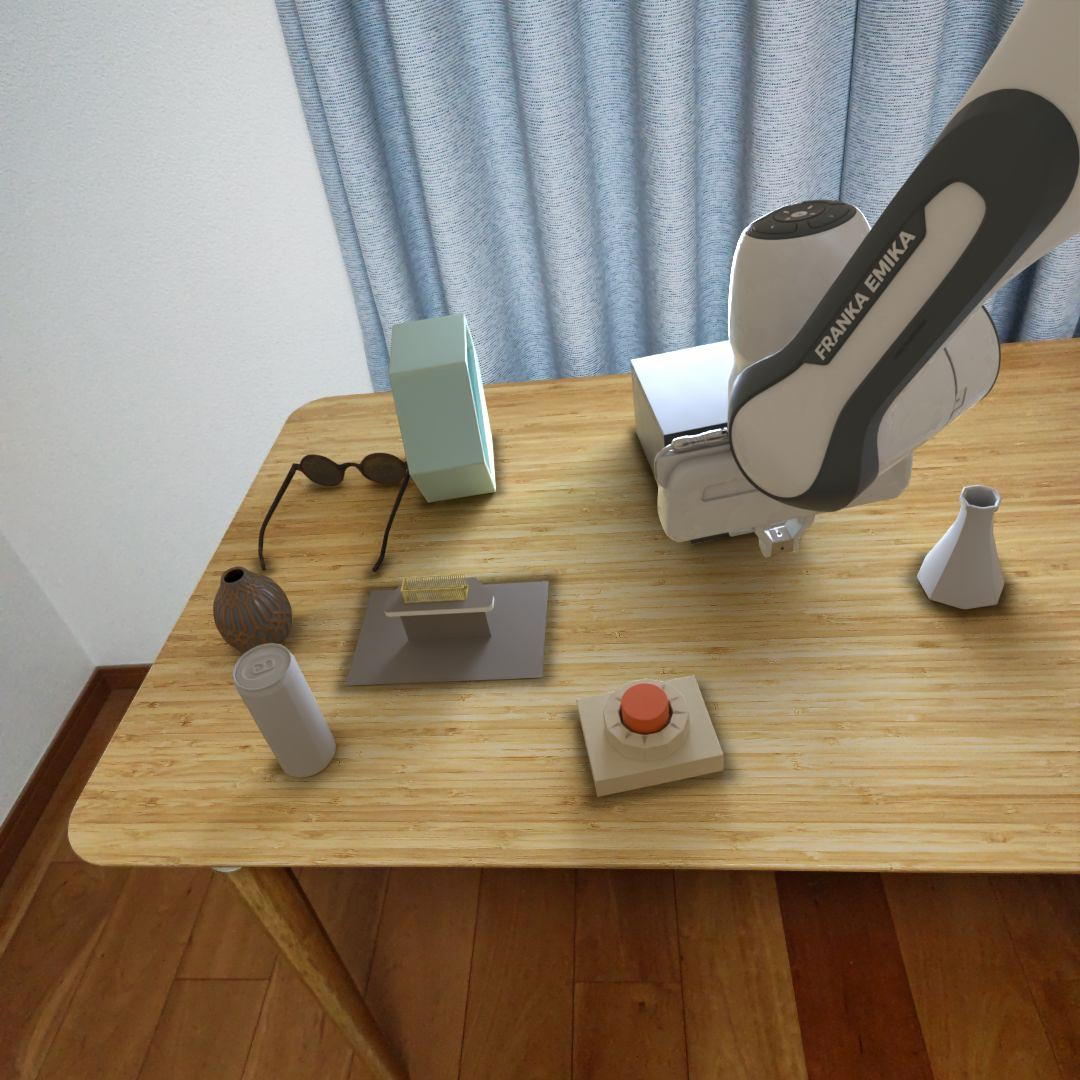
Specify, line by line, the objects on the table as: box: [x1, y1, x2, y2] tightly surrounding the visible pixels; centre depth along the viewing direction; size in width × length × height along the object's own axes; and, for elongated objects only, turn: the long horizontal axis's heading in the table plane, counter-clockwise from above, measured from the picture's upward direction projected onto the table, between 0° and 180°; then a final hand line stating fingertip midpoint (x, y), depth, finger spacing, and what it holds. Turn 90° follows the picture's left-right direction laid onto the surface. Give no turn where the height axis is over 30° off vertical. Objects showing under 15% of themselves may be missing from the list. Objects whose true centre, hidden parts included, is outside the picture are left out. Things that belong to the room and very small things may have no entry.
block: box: [575, 674, 724, 798], centre depth 71 cm, size 10×8×4 cm
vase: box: [212, 565, 293, 654], centre depth 84 cm, size 7×7×9 cm
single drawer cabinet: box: [629, 339, 734, 488], centre depth 95 cm, size 15×13×10 cm
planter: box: [388, 312, 497, 503], centre depth 97 cm, size 17×8×21 cm
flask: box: [916, 484, 1005, 610], centre depth 77 cm, size 7×7×10 cm
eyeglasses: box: [257, 452, 411, 573], centre depth 97 cm, size 15×15×5 cm
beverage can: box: [232, 643, 337, 778], centre depth 72 cm, size 5×5×12 cm
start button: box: [621, 683, 669, 734], centre depth 69 cm, size 4×4×2 cm
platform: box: [345, 573, 550, 687], centre depth 82 cm, size 12×18×7 cm, turn 87°
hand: (778, 549), depth 77 cm, fingers closed
